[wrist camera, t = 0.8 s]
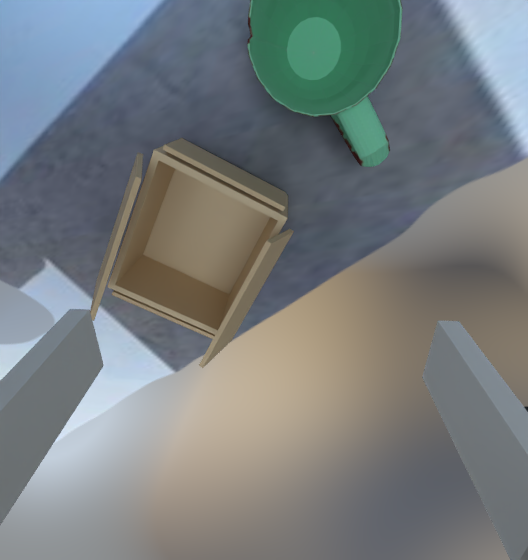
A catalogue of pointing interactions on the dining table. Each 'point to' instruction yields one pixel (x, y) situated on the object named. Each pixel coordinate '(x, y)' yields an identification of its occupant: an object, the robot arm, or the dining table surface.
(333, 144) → the dining table surface
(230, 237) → the carton
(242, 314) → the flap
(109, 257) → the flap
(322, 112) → the mug
